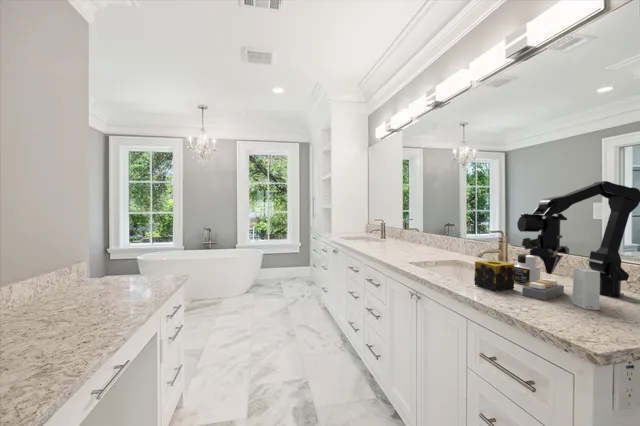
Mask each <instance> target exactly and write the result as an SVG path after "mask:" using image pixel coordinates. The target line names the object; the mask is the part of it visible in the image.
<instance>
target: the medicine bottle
mask: <svg viewBox="0 0 640 426" xmlns="http://www.w3.org/2000/svg"><path fill="white" fill-rule="evenodd" d="M538 280H541V267H539V266H536V256H532V255H530V254H523V253H522V254H518V255H517V264H514V284H519V285H524V286H528V285H529V283H531V282H536V281H538Z"/></svg>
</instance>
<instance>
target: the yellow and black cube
mask: <svg viewBox="0 0 640 426" xmlns="http://www.w3.org/2000/svg"><path fill="white" fill-rule="evenodd" d="M514 265H515V264H514V263H509V262H506V261H501V260H495V259H487V260H477V261H474V278H473V281H474V285H475V286H477V287H479V288H482V289H486V290H489V291H493V292H502V291H509V290H510V291H511V290H514V289H515V283H514Z"/></svg>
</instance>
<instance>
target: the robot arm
mask: <svg viewBox="0 0 640 426" xmlns="http://www.w3.org/2000/svg"><path fill="white" fill-rule="evenodd" d="M598 195H600V196H601V197H603V198H605V199H608V201H607V204H608V207H609V209H610V213H609V215H608V219H607V222H606V227H605V229H604V230H605V231H604V234H603V236H602V241H601V244H600V247H599V248H598V249H597V250H596V251H594V250H591V251H590V254H589V258H587V262H588V267H589V269H591V270H595V271H598V272H600V295H604V296H607V297H614V298H621V297H623V296H625V294H624V293H622V292H621V290H622V287H621V286H622V285H621V284H622V282H625V281H628V279H629V278H630V274H629V273H628V272H627V271H625V269H624V268H622V258H621V256H620V252H619V251H620V247H621V244H622V240H623V237H624V234H625V231H626V227H627V223H628V220H629V217H630V214H631V213H632V212H634V210H635V209H637V207H638V206H639V204H640V189H639V188H638V187H629V186H627V185H626V186H625V185H623V184H622V185H621V184H618V183H614V182H611V181H609V180H608V181H607V180H604V181H603V180H602V181H596V182H594V183H592V184H589V185H587V186H583V187H581V188H579V189H576V190H573V191H571V192H568V193H566V194H563V195H559V196H551V197H547V198H542V200H540V201H539V202H538V206H537V207H536V208H535V210H534V211H533V212H532V213H530V214H529V213H521V214H520V217H519V218H518V220H517V222H516V223H517V228H518V230H519V232H524V233H529V232H530V233H538V232H540V234H537V238H532V239H531V238H530V237H524V238H523V239H522V241H521V246H522V247H524V249H525V250H529V255H532V256H535V257H539V258H540V259H541V260H542V262H543V265H544V267H545V271H546V274H547V275H551V274H553V272H554V270H555V269H556V267H557V266H558V263H559V262H560V261H561V259H562V258H563V257H564V255H562V254H565V255H568V254H570V248H569V247H568V246H567V245H561V239H563V235H562V234H561V221H567V220H568V218H567V217H566V216H564V215H563V212H565V211H566V210H568V209H569V208H570V207H571V206H573V205H575V204H577V203H580V202H582V201H585V200H587V199H590V198H594V197H596V196H598ZM559 253H560V254H561V255H560V254H559Z"/></svg>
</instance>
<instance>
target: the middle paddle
mask: <svg viewBox="0 0 640 426" xmlns="http://www.w3.org/2000/svg"><path fill="white" fill-rule="evenodd" d="M536 283H541V284H546V287H551V286H552V282H546V281H542V279H540V280H538V281H536Z"/></svg>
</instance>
